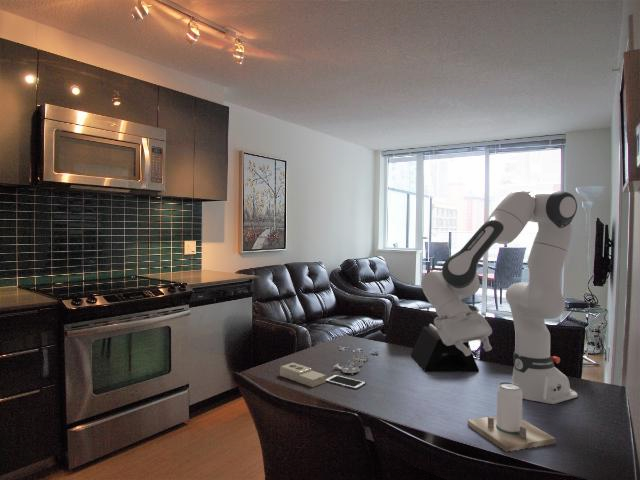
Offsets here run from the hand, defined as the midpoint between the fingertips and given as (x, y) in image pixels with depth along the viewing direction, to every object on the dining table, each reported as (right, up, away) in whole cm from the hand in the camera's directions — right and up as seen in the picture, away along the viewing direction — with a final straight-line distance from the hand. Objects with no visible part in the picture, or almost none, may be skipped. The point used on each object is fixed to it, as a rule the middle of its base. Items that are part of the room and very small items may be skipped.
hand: (479, 352), depth 127 cm
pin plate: (+5, -21, -8) cm, 23 cm away
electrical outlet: (-55, -20, +35) cm, 68 cm away
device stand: (+5, -20, +56) cm, 59 cm away
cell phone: (-39, -20, +31) cm, 54 cm away
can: (+5, -19, -8) cm, 22 cm away
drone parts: (-37, -20, +59) cm, 73 cm away
